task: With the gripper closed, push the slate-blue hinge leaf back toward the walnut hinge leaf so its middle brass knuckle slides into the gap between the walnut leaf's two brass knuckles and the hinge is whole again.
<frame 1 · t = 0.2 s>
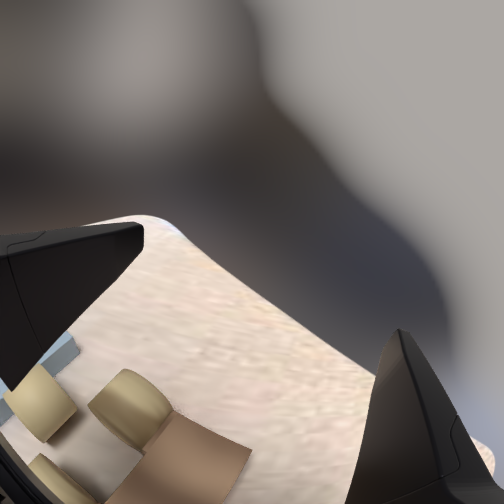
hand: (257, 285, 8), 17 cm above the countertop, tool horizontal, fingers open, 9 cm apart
walnut leaf: (100, 463, 14), on the countertop
slate leaf: (50, 416, 15), on the countertop
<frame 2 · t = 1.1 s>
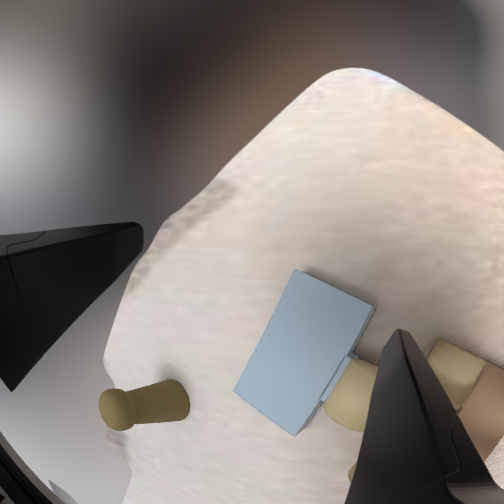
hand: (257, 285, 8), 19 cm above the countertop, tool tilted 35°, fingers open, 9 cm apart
cork: (175, 400, 33), on the countertop
walnut leaf: (417, 415, 18), on the countertop
slate leaf: (365, 388, 22), on the countertop
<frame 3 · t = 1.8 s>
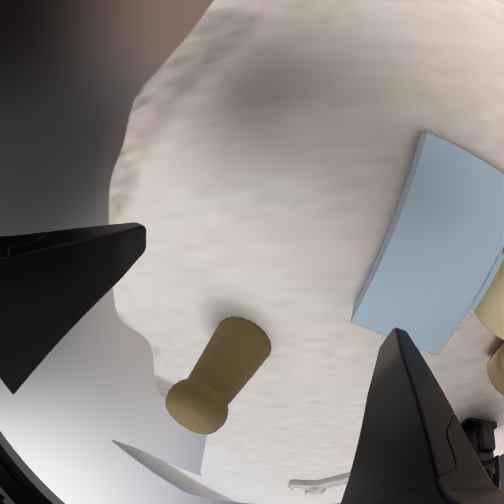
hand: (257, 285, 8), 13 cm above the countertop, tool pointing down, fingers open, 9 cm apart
cork: (244, 339, 28), on the countertop
slate leaf: (500, 279, 15), on the countertop
adjustable wrench: (341, 477, 35), on the countertop
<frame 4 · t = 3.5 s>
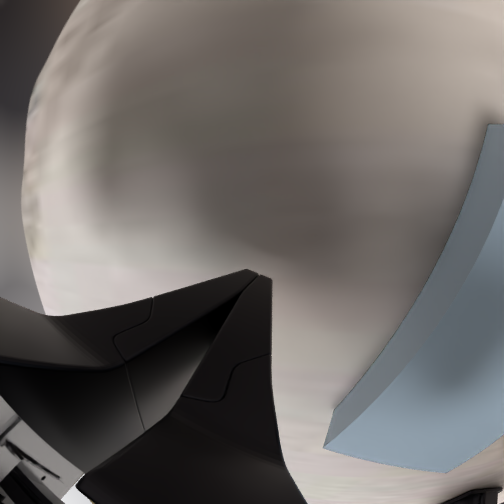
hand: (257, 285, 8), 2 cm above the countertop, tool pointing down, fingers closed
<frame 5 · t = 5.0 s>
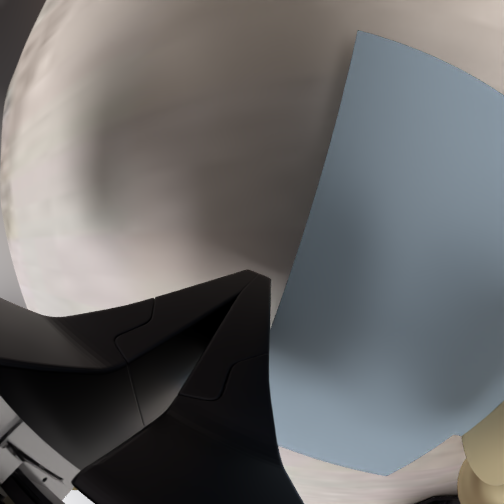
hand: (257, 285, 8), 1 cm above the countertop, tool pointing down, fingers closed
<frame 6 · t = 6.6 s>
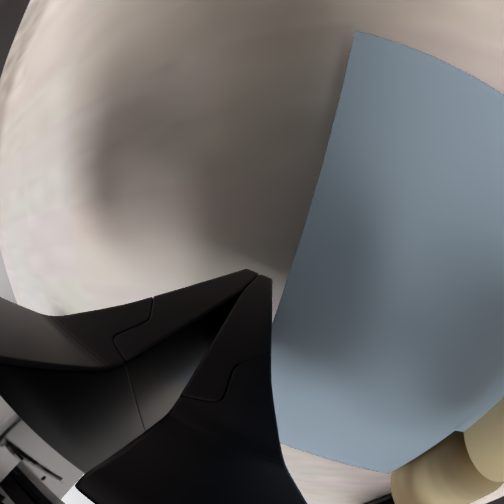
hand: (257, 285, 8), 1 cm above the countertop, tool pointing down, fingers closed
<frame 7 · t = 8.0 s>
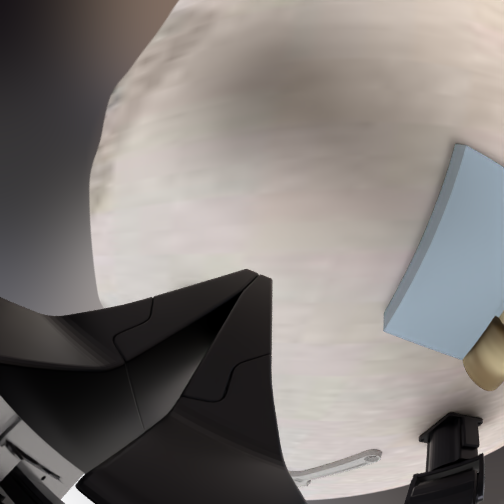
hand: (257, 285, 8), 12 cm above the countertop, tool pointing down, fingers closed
adjustable wrench: (324, 468, 35), on the countertop
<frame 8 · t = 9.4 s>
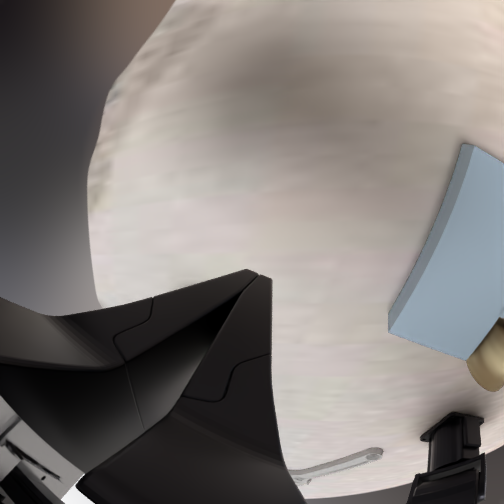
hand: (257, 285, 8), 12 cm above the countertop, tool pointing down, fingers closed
adjustable wrench: (325, 466, 35), on the countertop
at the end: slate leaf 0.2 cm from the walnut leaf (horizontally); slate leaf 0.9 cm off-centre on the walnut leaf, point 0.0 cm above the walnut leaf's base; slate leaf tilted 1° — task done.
